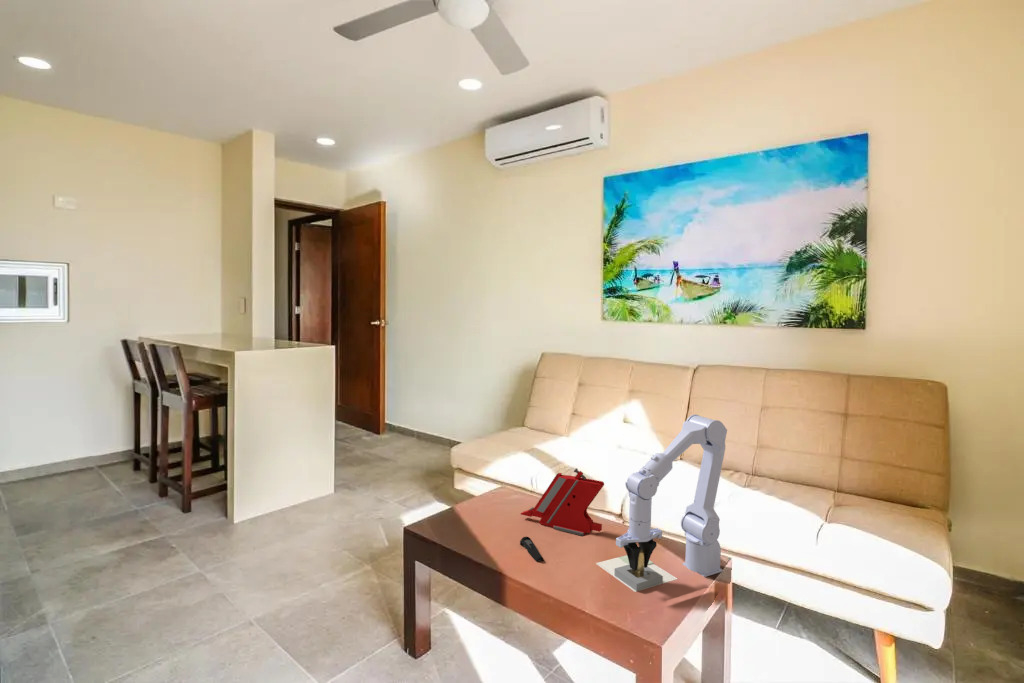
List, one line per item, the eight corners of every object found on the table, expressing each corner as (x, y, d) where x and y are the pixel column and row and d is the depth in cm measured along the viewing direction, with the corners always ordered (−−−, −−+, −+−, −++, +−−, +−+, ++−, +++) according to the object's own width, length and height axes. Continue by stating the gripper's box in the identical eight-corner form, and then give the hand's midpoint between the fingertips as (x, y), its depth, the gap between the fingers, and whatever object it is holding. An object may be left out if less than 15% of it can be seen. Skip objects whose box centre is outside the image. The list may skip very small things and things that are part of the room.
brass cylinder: (638, 572, 144) (639, 547, 143) (646, 577, 141) (647, 551, 141) (630, 574, 142) (631, 549, 142) (637, 579, 140) (638, 554, 139)
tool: (516, 517, 182) (546, 453, 174) (524, 510, 187) (553, 448, 179) (581, 564, 172) (617, 499, 164) (587, 556, 177) (622, 492, 169)
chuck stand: (635, 555, 157) (636, 546, 157) (677, 582, 142) (678, 571, 142) (595, 566, 151) (595, 556, 150) (634, 595, 136) (635, 584, 135)
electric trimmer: (534, 568, 150) (534, 557, 150) (518, 544, 165) (519, 534, 165) (546, 566, 151) (546, 556, 151) (530, 543, 166) (530, 533, 166)
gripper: (650, 508, 148) (648, 555, 148) (609, 517, 141) (607, 566, 142) (668, 517, 141) (666, 566, 142) (626, 527, 135) (624, 578, 135)
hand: (638, 567), depth 142 cm, fingers closed on brass cylinder, 3 cm apart
